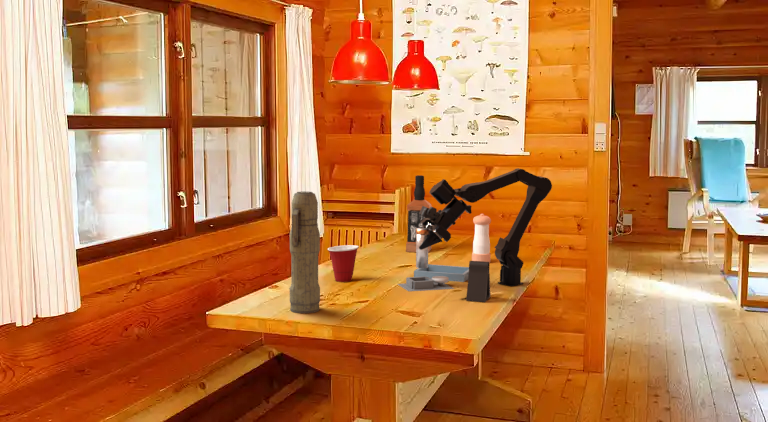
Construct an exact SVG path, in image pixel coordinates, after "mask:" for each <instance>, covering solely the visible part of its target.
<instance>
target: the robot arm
mask: <svg viewBox="0 0 768 422" xmlns="http://www.w3.org/2000/svg"><path fill="white" fill-rule="evenodd" d="M518 182H521V183H523V184H524V185H526V186H527V188H526V198H525V200H524V201H523V204H522V206H521V208H520V210H519V212H518V214H517V216H516V218H515V220H514V222H513V224H512V226H511V228H510V230H509V232H508V233H507V235H506V236H505V237H504V238H503V237H499V238H498V241H497V244H496V245H495V246H494V249H495V250H494V255H495V257H496V259H497V260H498V262H499V263H500V265H501V266H500V270H499V281H497V284H498V285H502V286H508V287H516V286H521V285H524V282H522V269H523V266H524V261H523V260H522V259H521V258H520V257H519V256H518V255H519V251H520V246H521V244H520V243H521V240H522V238H523V236H524V234H525V232H526V230H527V228H528V226H529V224H530V222H531V221H532V218H533V216H534V214H535V212H536V210H537V207H538V205H540V203H541V202H542V201H543V200H545V199H546V198H547V196H548V194H550V192H551V191H552V189H553V184H552V181H551V180H550V178H548V177H545V176H541V175H535V174H533V173H532V172H528V171H526V170H525V169H523V168H514V169H513V170H511V171H508V172H506V173H503V174H499V175H498V176H495V177H492V178H490V179H487V180H484V181H479V182H470V183H466V184H464V185H462V186H461V187H460V188H453V186H451V184H449V181H447V179H444V178H442V179H441V180H440V181H438V182H437V183H436V184H433V186H432V187H431V189H430V190H429V194H430V195H431V196H432V197H433V198H434V199H435V200H436V201H437V203H439V204H440V205H445V206H444V208H443V209H437V208H435V207H433V206H431V207H430V208H427V207H425V206H422V208H421V210H420V213H419V214H420V215H422V216H424V217H428V218H430V219H428V218H424V219H423V220H422V221H421V224H422V227H423V228H428V235H427V237H426V238H425V239H424V241H423V242H422V243H421V245H420V246H419V249H420V250H422V249H424V248H427V247H429V246H431V247H433V246H434V245H436V244H439V243H441V242H442V243H443V241H445V243H448V242H449V241H450V240H451V238H452V234H451V233H450V232H449V231H448V229H449V228H450V227H451V226H455V225H456V223H457V222H456V221H457V220H458V219H459V218H460V217H461V216H462V215H463V214H464V213H465V212H466V213H467V214H472V205H470V204H467V203H466V202H468V203H476V202H478V201H480V200H481V199H483V198H485V197H486V196H487V195H488V194H490V193H492V192H495V191H498V190H500V189H502V188H503V189H504V188H505V187H507V186H510V185H513V184H516V183H518ZM457 197H458V198H457ZM459 198H460V199H459ZM465 201H466V202H465Z"/></svg>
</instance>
